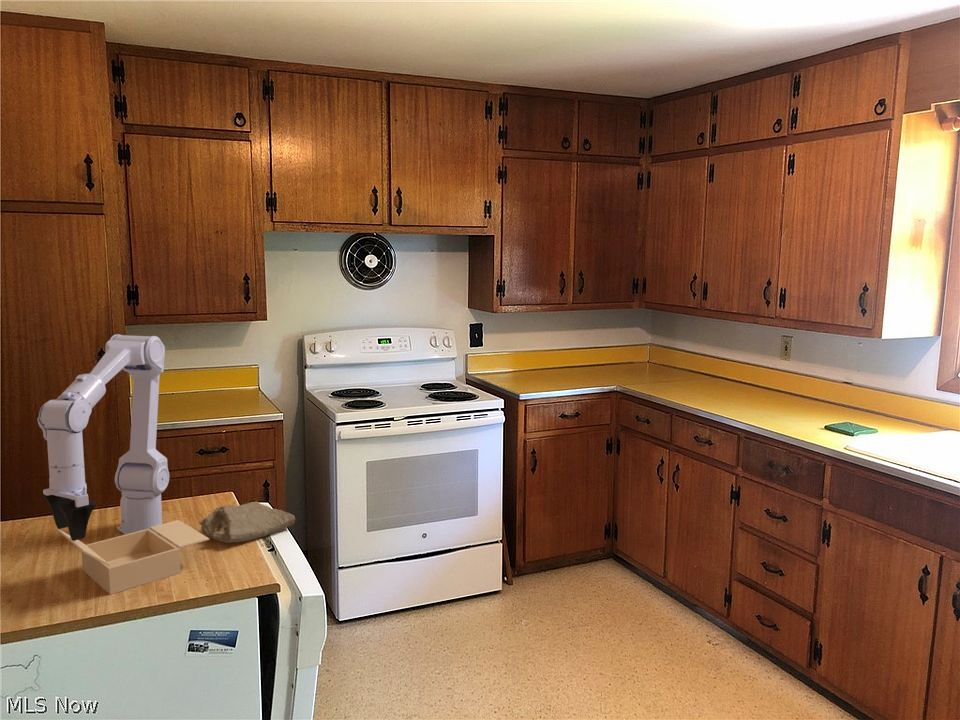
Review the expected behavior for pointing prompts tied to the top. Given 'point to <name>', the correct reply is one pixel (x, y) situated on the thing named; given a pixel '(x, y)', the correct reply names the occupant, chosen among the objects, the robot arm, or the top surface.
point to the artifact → (245, 522)
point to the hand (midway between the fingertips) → (70, 533)
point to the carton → (139, 556)
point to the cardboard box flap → (83, 547)
